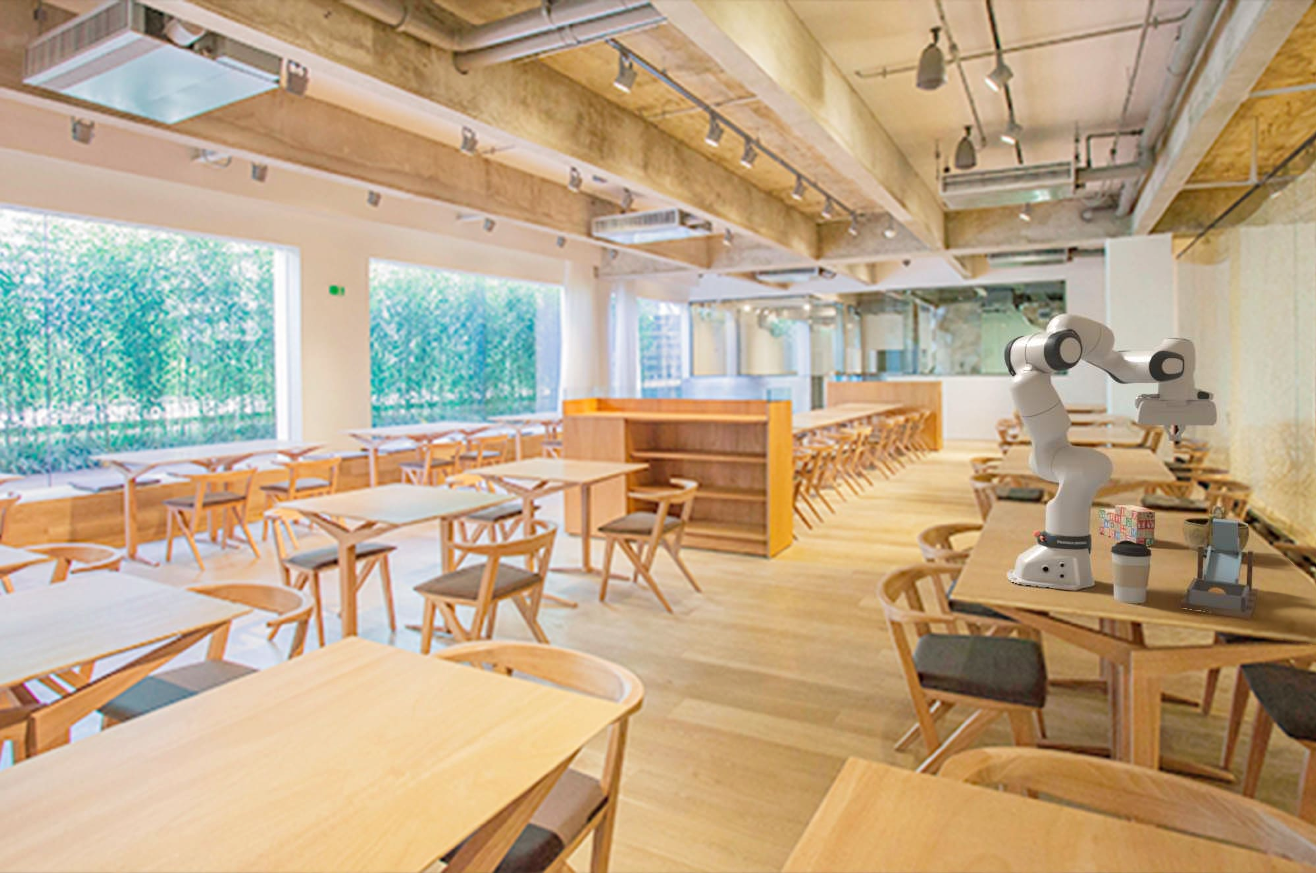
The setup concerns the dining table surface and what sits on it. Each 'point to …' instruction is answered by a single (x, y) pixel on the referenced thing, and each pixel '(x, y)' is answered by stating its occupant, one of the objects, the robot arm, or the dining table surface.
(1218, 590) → the orange ball
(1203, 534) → the ceramic bowl
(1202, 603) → the bin
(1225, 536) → the tipping lever
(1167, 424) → the robot arm
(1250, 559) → the walnut lever base
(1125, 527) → the stack of blocks
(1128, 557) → the coffee cup
